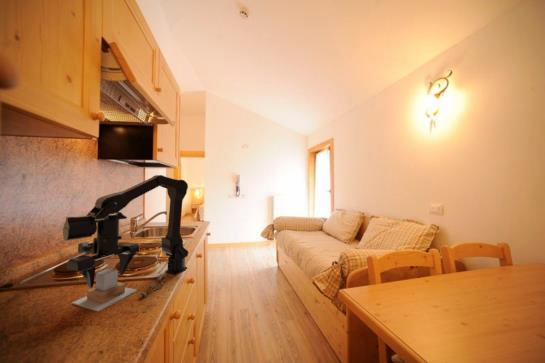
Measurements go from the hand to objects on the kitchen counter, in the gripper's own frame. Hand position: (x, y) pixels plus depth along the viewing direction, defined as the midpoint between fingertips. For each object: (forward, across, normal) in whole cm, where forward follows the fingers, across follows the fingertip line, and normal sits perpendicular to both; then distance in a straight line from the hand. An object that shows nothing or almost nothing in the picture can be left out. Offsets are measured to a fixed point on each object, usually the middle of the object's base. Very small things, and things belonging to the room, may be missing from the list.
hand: (107, 280), depth 66 cm
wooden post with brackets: (+6, -8, +11) cm, 15 cm away
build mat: (+5, 0, 0) cm, 5 cm away
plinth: (+5, 0, 0) cm, 5 cm away
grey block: (+2, 0, 0) cm, 2 cm away
